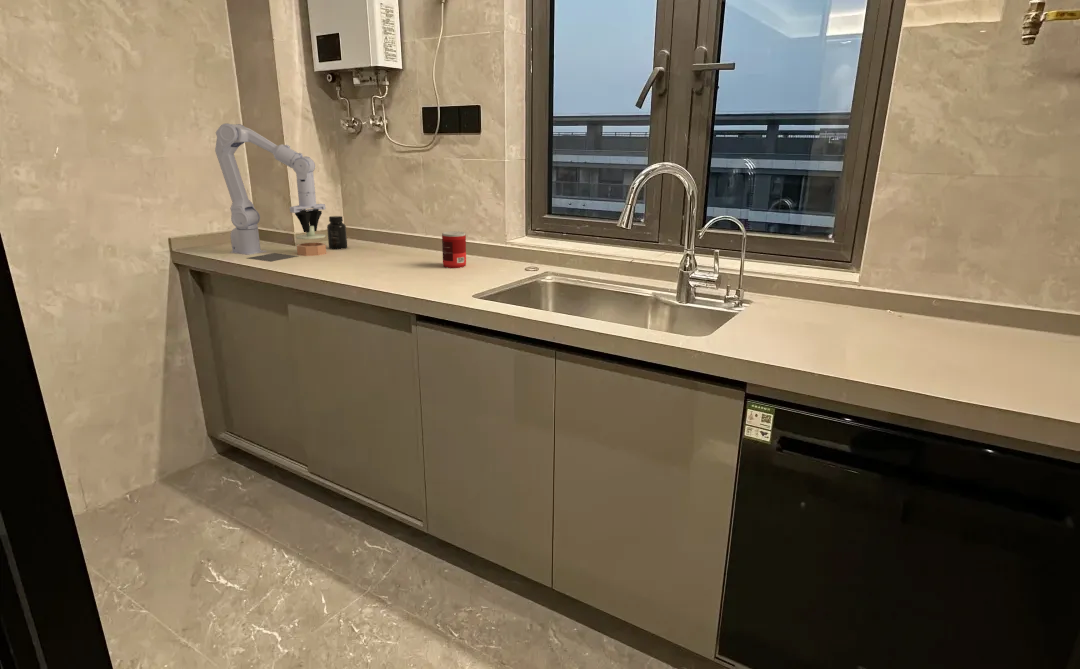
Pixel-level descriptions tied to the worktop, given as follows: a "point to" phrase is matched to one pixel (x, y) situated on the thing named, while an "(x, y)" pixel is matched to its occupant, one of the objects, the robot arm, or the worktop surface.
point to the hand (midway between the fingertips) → (310, 231)
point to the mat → (272, 257)
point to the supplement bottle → (336, 233)
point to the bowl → (311, 249)
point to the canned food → (454, 249)
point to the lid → (311, 235)
